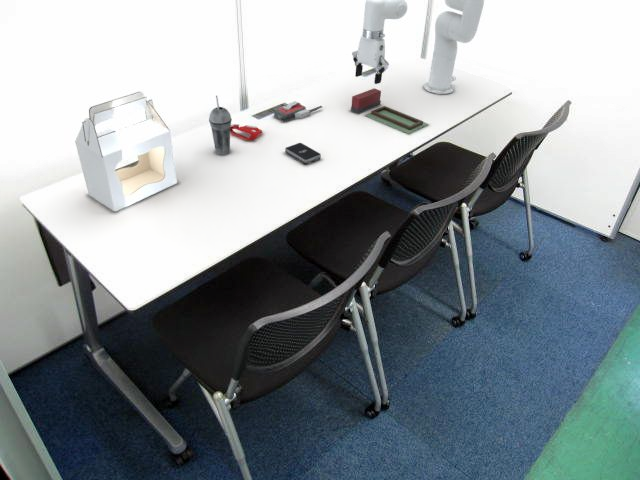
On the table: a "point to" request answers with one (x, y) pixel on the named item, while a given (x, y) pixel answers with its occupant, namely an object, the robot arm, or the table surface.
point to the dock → (396, 119)
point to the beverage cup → (220, 129)
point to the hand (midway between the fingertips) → (367, 79)
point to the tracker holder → (248, 129)
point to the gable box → (125, 153)
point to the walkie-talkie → (293, 111)
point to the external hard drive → (303, 153)
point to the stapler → (366, 101)
